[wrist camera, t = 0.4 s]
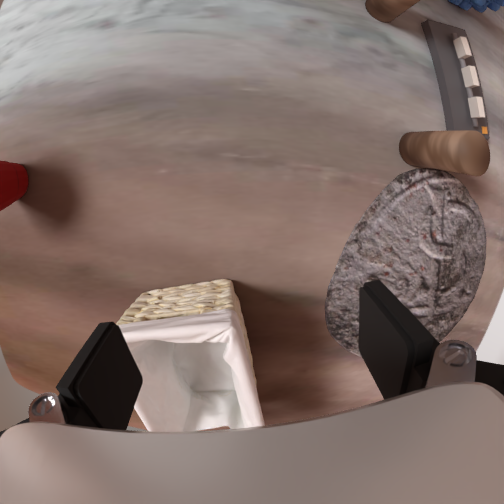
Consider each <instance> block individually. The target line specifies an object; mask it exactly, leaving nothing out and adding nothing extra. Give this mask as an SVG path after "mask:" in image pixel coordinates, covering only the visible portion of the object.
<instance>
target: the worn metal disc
mask: <svg viewBox="0 0 504 504" xmlns="http://www.w3.org/2000/svg"><path fill="white" fill-rule="evenodd" d="M485 259H486V232H485V228H484V222H483V219H482V216H481V214H480V211H479V208H478V205H477V203H475V201H474V200H473V199H472V198H471V197H470V194H469V192H468V190H467V189H466V187H465V186H464V185H463V184H462V183H461V182H460V181H459V180H458V179H456V178H455V177H454V176H452V175H451V174H449V173H448V172H446V171H442V170H438V169H429V168H424V169H415V170H411V171H408V172H405V173H402V174H400V175H398V176H397V177H396V178H395V179H394V180H393V181H392V182H391V183H390V184H389V185H388V186H387V187H386V188H385V189H384V190H383V191H382V192H381V193H380V194H379V195H378V197H377V198H376V199H375V200H374V201H373V203H372V204H371V205H370V206H369V207H368V209H367V210H366V212H365V213H364V214H363V216H362V217H361V219H360V221H359V222H358V223H357V224H356V226H355V228H354V229H353V231H352V233H351V235H350V237H349V239H348V240H347V242H346V245H345V247H344V249H343V252H342V254H341V256H340V259H339V261H338V264H337V266H336V270H335V272H334V275H333V277H332V279H331V282H330V284H329V286H328V292H327V298H326V302H325V317H326V324H327V327H328V330H329V332H330V334H331V336H332V337H333V338H334V339H335V340H336V341H337V342H338V343H339V344H340V345H341V346H342V347H343V348H345V349H346V350H347V351H349V352H352V353H354V354H356V355H358V356H361V354H360V351H359V347H358V340H359V290H360V287H363V285H364V283H365V282H369V281H374V280H380V281H381V282H382V283H383V284H384V285H385V286H386V287H387V288H388V289H389V290H390V291H391V292H392V293H393V294H394V295H395V296H396V297H397V298H398V299H399V300H400V301H401V303H402V304H403V305H404V306H405V307H406V308H407V309H409V310H410V311H411V312H412V314H413V315H414V316H415V317H416V318H417V319H418V320H419V321H420V322H421V323H422V324H423V325H424V327H425V328H426V329H427V330H428V331H429V332H430V333H431V334H432V335H433V337H434V338H435V339H436V340H437V341H438V342H440V341H441V340H442V339H443V338H444V337H445V336H446V335H447V334H448V333H449V332H450V331H451V330H452V329H453V328H454V326H455V325H456V324H457V323H458V322H459V321H460V319H461V318H462V317H463V315H464V314H465V312H466V311H467V309H468V307H469V305H470V303H471V302H472V300H473V299H474V296H475V294H476V291H477V289H478V286H479V283H480V279H481V277H482V274H483V271H484V265H485ZM361 357H362V356H361Z"/></svg>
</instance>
